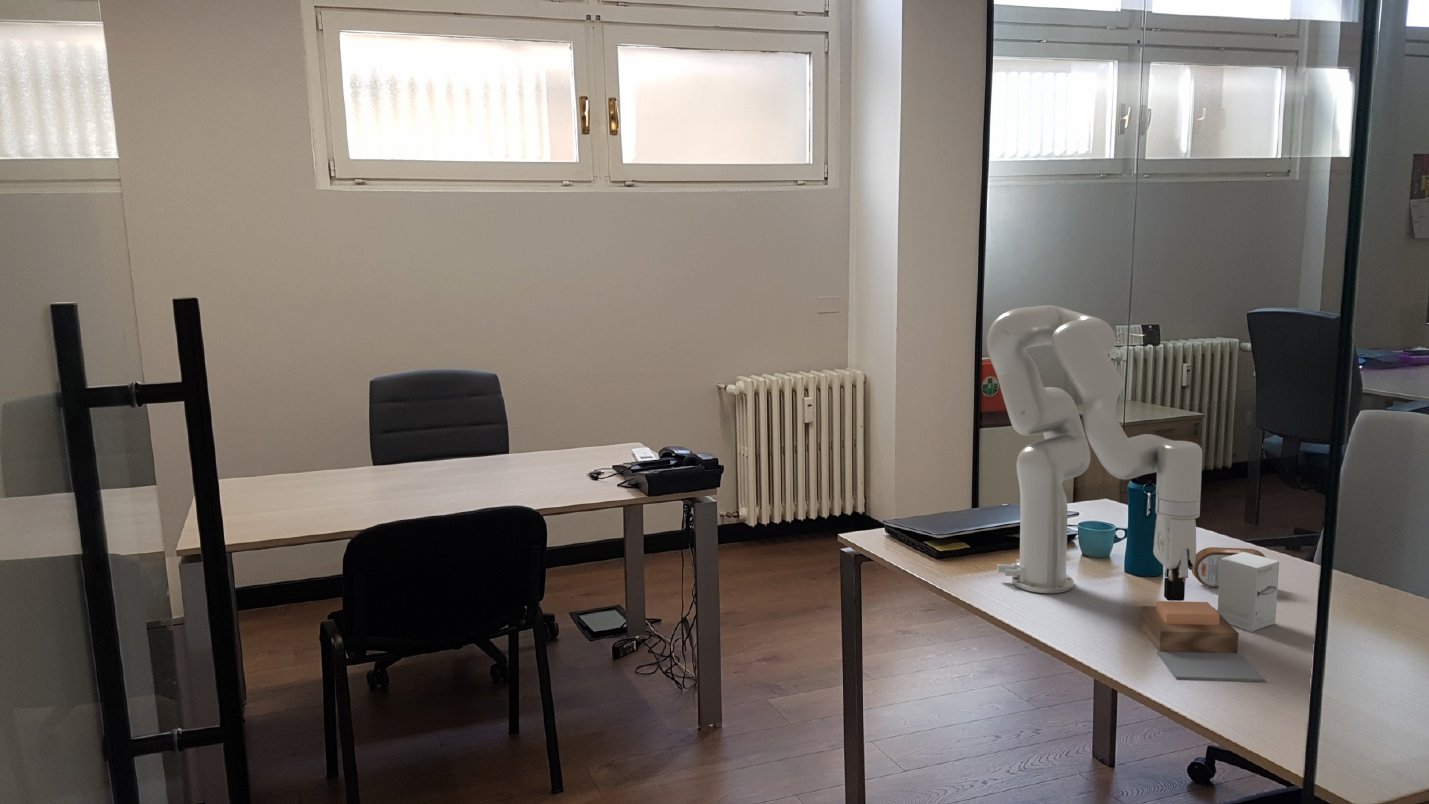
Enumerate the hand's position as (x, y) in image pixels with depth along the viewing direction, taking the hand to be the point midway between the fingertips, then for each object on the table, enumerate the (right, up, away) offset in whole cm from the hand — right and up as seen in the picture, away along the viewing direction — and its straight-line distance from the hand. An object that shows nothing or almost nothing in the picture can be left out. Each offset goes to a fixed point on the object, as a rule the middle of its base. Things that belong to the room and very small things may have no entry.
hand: (1174, 598), depth 180 cm
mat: (-3, -8, -18) cm, 20 cm away
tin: (+20, -1, +17) cm, 27 cm away
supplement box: (+14, -5, 0) cm, 14 cm away
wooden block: (-1, -6, -7) cm, 9 cm away
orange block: (-1, -2, -7) cm, 8 cm away
